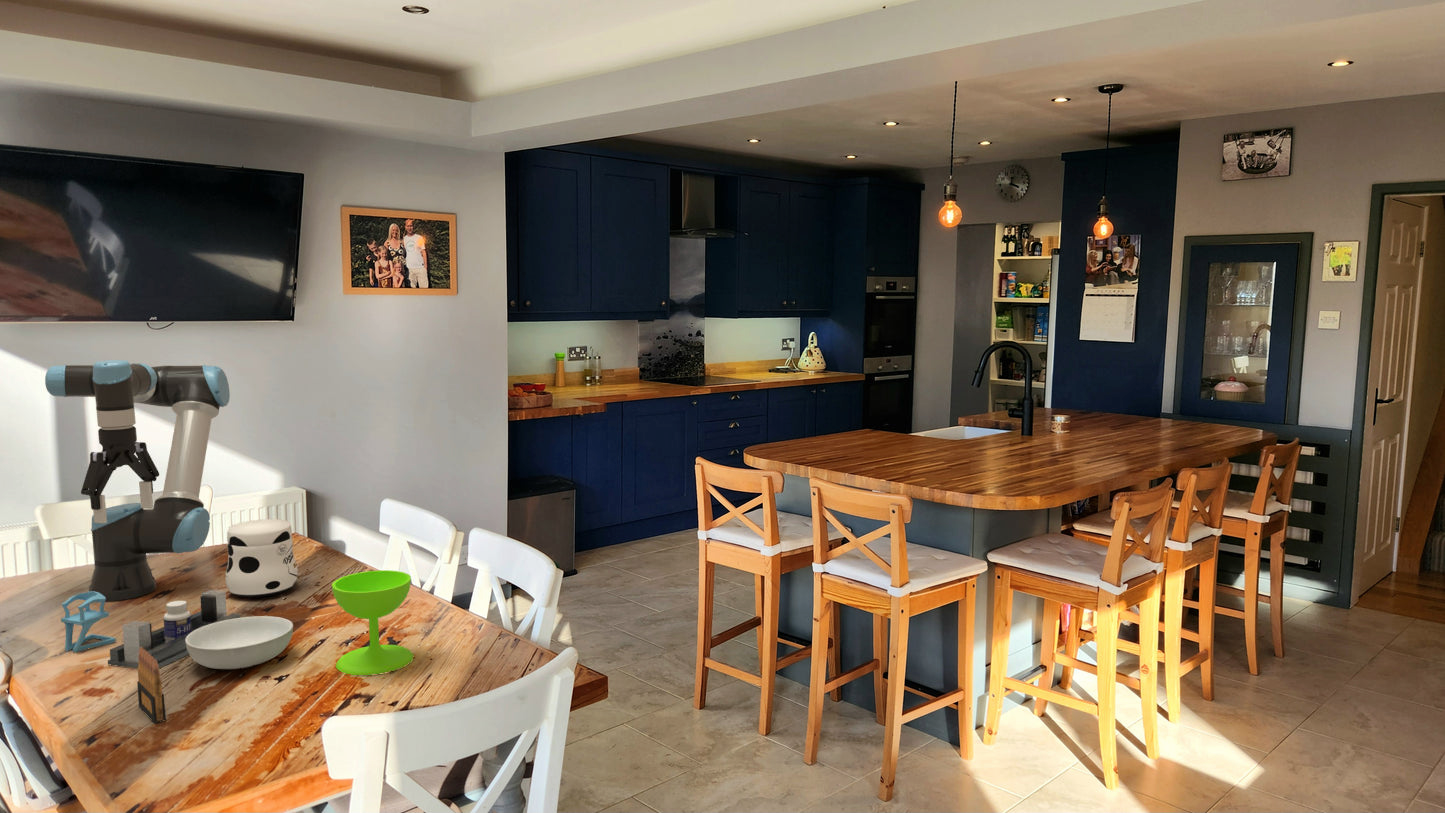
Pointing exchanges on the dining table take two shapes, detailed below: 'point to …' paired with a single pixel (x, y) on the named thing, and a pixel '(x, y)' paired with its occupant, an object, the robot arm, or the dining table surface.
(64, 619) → the chair
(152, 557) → the dining table surface
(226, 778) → the dining table surface
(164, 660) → the rail
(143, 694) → the ammunition clip
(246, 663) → the serving bowl
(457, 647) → the dining table surface
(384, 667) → the wineglass
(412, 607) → the dining table surface
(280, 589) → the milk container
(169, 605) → the pill bottle
